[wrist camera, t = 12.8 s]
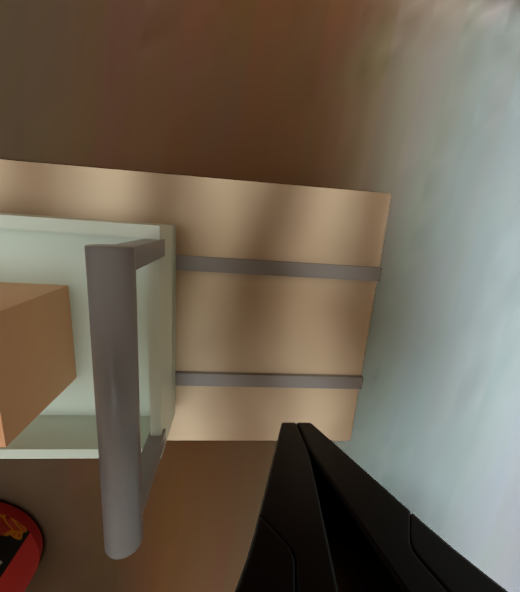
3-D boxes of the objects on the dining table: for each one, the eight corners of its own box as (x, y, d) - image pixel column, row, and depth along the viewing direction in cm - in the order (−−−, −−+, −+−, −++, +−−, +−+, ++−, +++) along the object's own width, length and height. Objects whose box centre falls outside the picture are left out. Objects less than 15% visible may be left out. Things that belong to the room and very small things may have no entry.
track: (384, 195, 17) (425, 187, 13) (345, 432, 21) (369, 477, 17) (-141, 149, 15) (-268, 124, 11) (-77, 430, 18) (-154, 482, 15)
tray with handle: (184, 225, 16) (125, 229, 7) (182, 408, 18) (137, 570, 10) (-73, 207, 14) (-512, 185, 6) (-36, 405, 17) (-305, 587, 9)
